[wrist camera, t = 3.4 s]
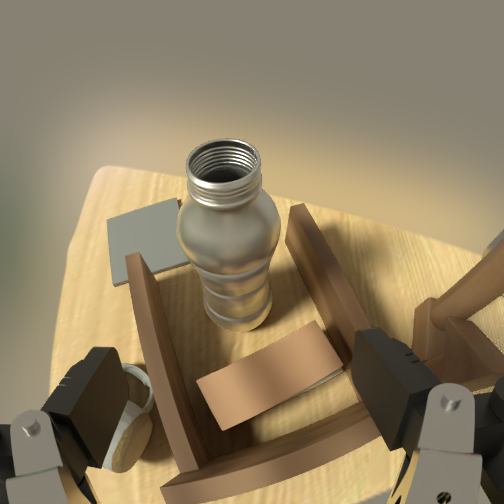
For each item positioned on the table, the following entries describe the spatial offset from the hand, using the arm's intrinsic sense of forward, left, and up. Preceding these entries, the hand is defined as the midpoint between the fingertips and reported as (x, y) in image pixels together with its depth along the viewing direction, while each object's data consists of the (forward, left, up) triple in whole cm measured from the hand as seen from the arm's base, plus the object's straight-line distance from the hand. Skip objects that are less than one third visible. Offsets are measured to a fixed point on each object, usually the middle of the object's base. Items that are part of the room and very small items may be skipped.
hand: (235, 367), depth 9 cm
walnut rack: (-2, -5, -20) cm, 21 cm away
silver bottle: (-2, -9, -20) cm, 22 cm away
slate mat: (+6, -21, -20) cm, 30 cm away
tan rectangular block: (-3, -1, -20) cm, 20 cm away
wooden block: (-19, +4, -20) cm, 28 cm away
